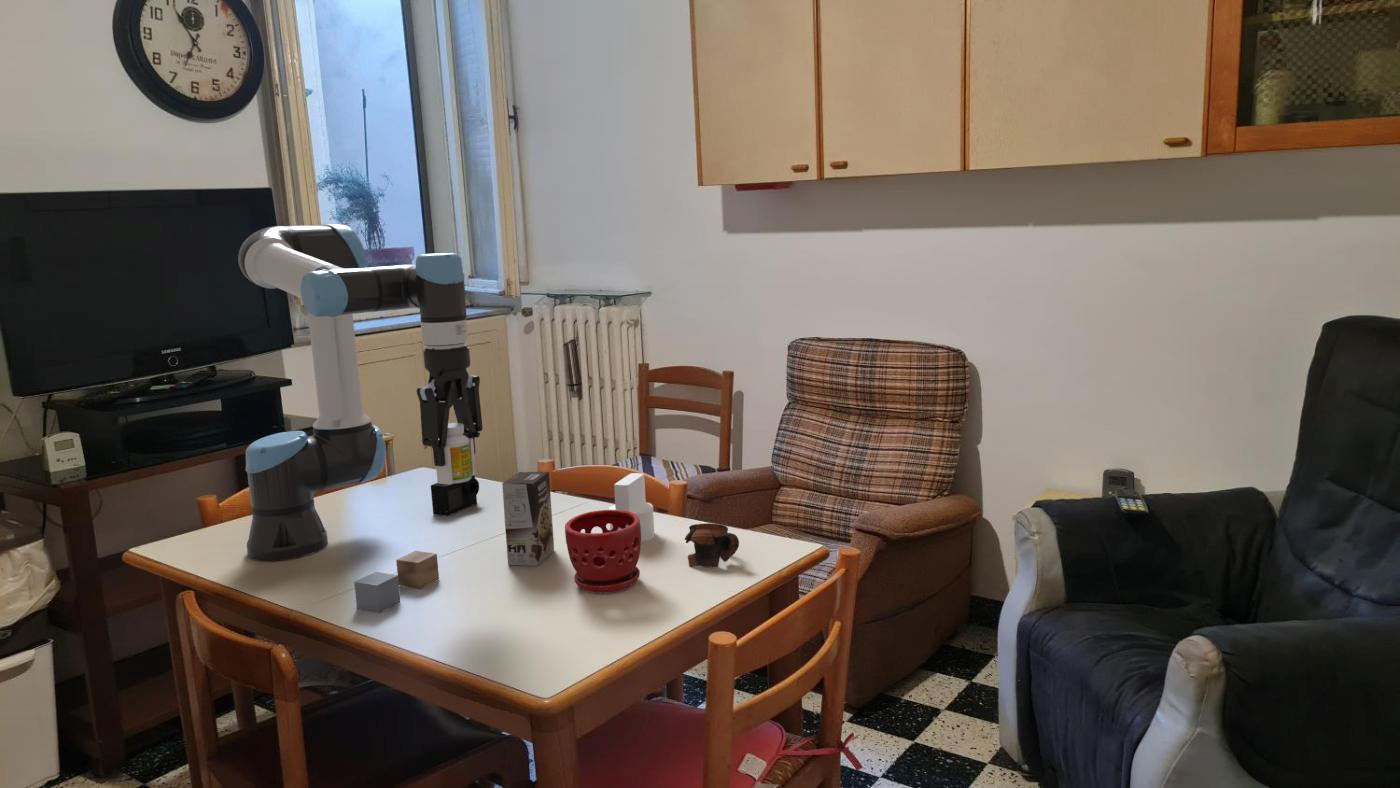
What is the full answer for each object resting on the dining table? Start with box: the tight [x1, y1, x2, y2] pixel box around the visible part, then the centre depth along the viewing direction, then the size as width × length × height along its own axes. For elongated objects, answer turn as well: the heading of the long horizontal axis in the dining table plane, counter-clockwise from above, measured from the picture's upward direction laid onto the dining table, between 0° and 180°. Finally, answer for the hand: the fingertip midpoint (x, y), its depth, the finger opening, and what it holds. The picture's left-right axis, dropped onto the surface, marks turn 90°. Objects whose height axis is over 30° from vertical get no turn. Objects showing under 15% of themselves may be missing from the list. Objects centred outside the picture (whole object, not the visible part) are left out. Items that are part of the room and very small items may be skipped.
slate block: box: [353, 571, 401, 614], centre depth 164 cm, size 5×5×5 cm
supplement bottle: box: [438, 422, 472, 484], centre depth 165 cm, size 5×5×10 cm
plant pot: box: [564, 509, 642, 594], centre depth 169 cm, size 13×13×12 cm
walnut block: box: [395, 550, 440, 590], centre depth 174 cm, size 5×5×5 cm
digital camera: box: [430, 475, 480, 517], centre depth 219 cm, size 10×5×7 cm, turn 154°
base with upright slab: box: [608, 472, 655, 543], centre depth 195 cm, size 9×9×12 cm
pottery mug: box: [684, 522, 740, 568], centre depth 180 cm, size 12×10×8 cm
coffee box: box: [502, 471, 555, 567], centre depth 184 cm, size 9×6×16 cm
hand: (457, 478), depth 166 cm, fingers closed on supplement bottle, 5 cm apart
